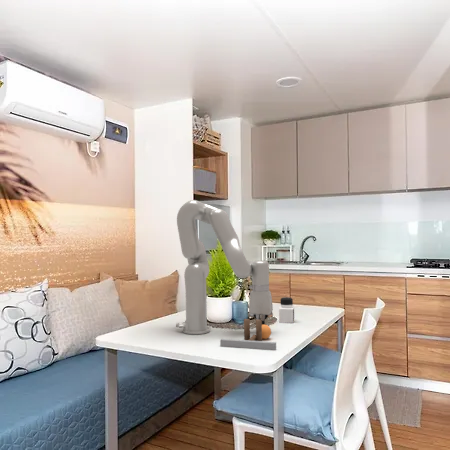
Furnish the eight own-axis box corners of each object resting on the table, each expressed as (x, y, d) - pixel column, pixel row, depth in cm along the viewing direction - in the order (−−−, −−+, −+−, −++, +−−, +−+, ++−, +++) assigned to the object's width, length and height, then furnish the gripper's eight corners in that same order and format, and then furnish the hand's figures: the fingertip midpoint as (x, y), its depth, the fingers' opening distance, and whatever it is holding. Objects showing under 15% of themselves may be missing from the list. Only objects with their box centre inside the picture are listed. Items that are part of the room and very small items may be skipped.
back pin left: (244, 342, 171) (244, 320, 171) (243, 340, 173) (243, 318, 174) (250, 341, 171) (250, 319, 171) (249, 340, 174) (249, 318, 174)
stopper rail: (220, 346, 165) (220, 339, 165) (221, 344, 167) (221, 338, 167) (275, 350, 159) (275, 343, 159) (276, 348, 161) (276, 342, 161)
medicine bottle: (293, 323, 205) (293, 298, 206) (279, 322, 207) (278, 298, 207) (294, 320, 212) (293, 296, 213) (280, 319, 214) (279, 296, 214)
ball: (265, 321, 174) (262, 321, 180) (255, 332, 173) (252, 331, 178) (275, 331, 173) (272, 331, 179) (265, 342, 172) (262, 341, 178)
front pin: (252, 340, 174) (247, 346, 166) (251, 335, 175) (245, 340, 166) (258, 339, 174) (253, 345, 165) (256, 333, 174) (251, 339, 165)
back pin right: (256, 342, 169) (256, 320, 170) (255, 341, 172) (255, 319, 172) (262, 342, 170) (262, 320, 170) (261, 341, 172) (261, 319, 172)
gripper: (242, 288, 186) (243, 330, 186) (275, 289, 182) (276, 332, 181) (246, 286, 193) (247, 326, 193) (278, 287, 189) (279, 328, 188)
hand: (261, 329), depth 187 cm, fingers closed
